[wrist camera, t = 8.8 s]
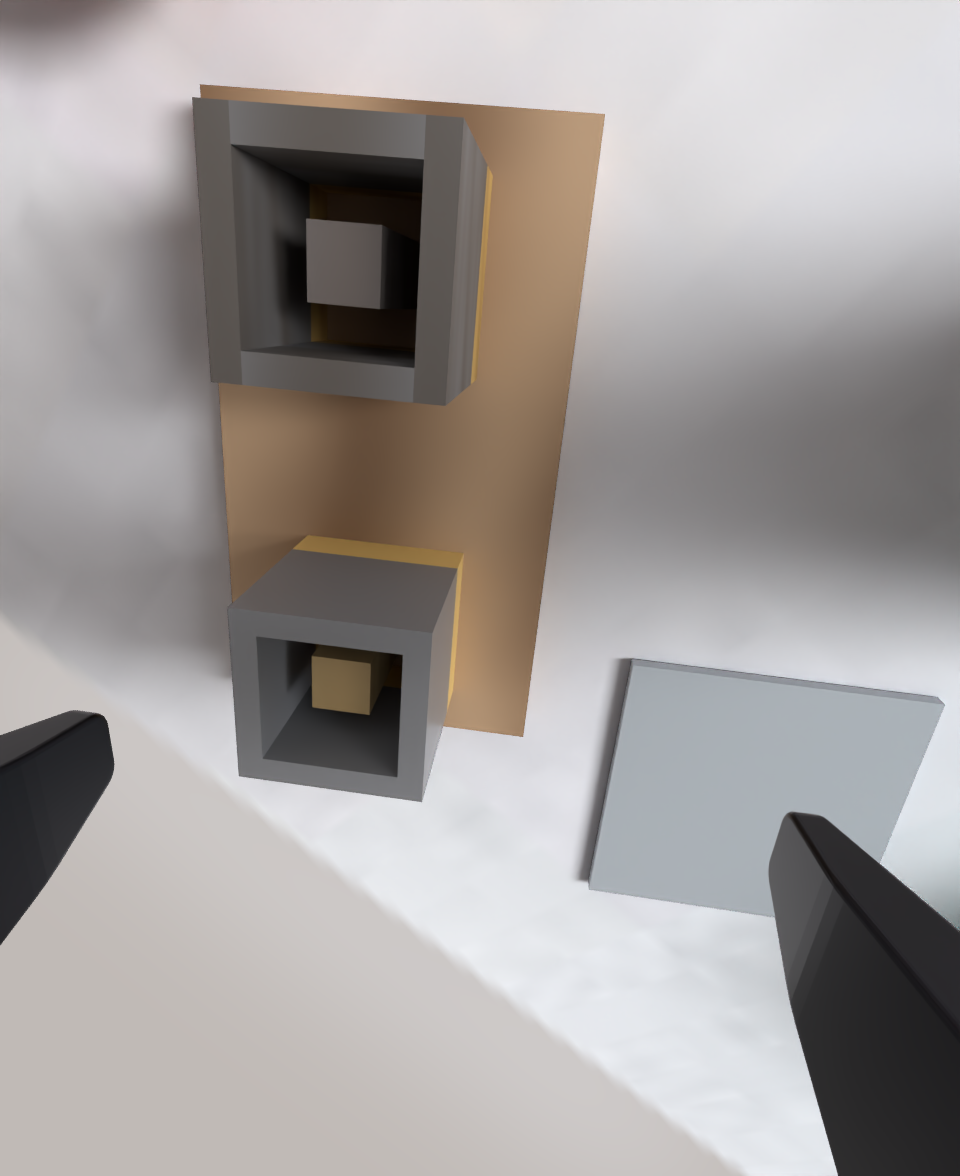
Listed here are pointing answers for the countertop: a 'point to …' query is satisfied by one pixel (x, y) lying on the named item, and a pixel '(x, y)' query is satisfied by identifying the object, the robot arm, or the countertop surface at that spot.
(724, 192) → the countertop surface
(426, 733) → the sleeve
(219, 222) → the pin board
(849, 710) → the mat
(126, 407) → the countertop surface
